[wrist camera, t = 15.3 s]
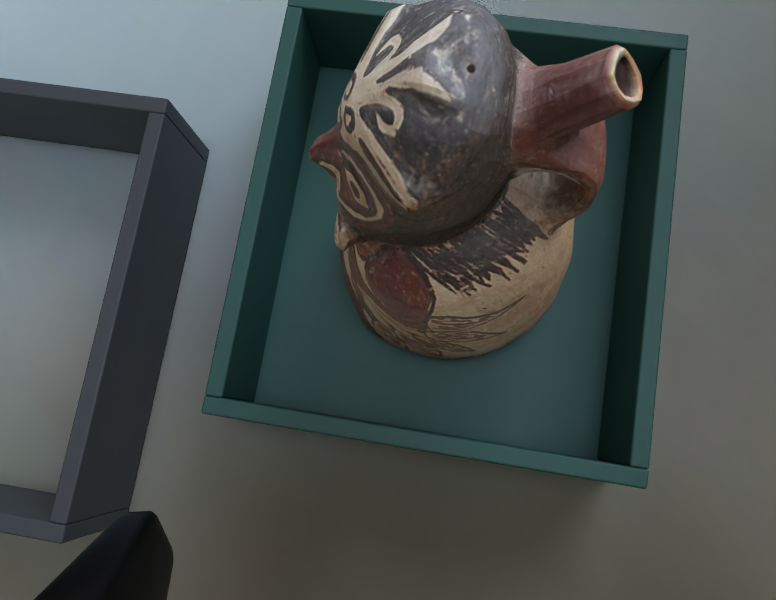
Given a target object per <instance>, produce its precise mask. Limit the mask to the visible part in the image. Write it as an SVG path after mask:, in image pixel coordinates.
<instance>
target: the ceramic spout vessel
mask: <svg viewBox="0 0 776 600" xmlns="http://www.w3.org/2000/svg"><path fill="white" fill-rule="evenodd" d="M642 93H643V87H642V78H641V74H640V72H639V70H638V68H637V66H636V64H635V62H634V60H633V58H632V57H631V55H630V54H629V52H628V51H627V50H626V49H625V48H623V47H621V46H619V45H614V46H611V47H608V48H605V49H603V50H600V51H597V52H594V53H591V54H589V55H586V56H583V57H580V58H577V59H574V60H572V61H569V62H566V63H561V64H553V65H545V66H537V65H535V64H533V63H532V62H531V61H530V60H529V59H528V58H527V57H525V56H524V55H523V54H522V53H521V52H520V51H519V50H517V49H516V48H515V47H514V46H513V45H512V44H511V41H510V39H509V36H508V33H507V32H506V31H505V29H504V28H503V26H502V25H501V23H500V22H499V21H498V20H497V19H496V18H495V17H494V16H493V15H492V14H491V13H490V12H489V10H488V9H487V8H486V7H485V6H483V5H480V4H478V3H476V2H473V1H471V0H434V1H430V2H426V3H423V4H420V5H410V4H403V5H401V6H399V7H397V8H395V9H392V10H390V11H388V12H387V13H386V15H385V17H384V18H383V20H382V21H381V23H380V25H379V26H378V28H377V30H376V31H375V33H374V35H373V37H372V39H371V41H370V42H369V44H368V46H367V48H366V50H365V52H364V54H363V56H362V58H361V60H360V61H359V63H358V65H357V67H356V69H355V71H354V73H353V75H352V77H351V79H350V81H349V83H348V85H347V87H346V90H345V92H344V95H343V97H342V99H341V102H340V105H339V107H338V111H337V124H336V125H335V126H334V127H333V128H331V129H330V130H329V131H328V132H326V133H324V134H322V135H321V136H319V137H317V138H316V140H315V141H314V143H313V145H312V146H311V148H310V149H309V157H310V160H311V161H313V162H314V163H316V164H318V165H320V166H322V167H323V168H324V169H325V170H326V171H327V172H328V174H329V175H330V176H331V178H332V179H333V180H334V181H335V185H336V191H337V200H338V211H337V217H336V223H335V233H334V236H335V243H336V246H337V247H338V248H339V252H340V258H341V263H342V269H343V277H344V279H345V282H346V284H347V287H348V290H349V293H350V296H351V299H352V301H353V303H354V306H355V308H356V310H357V312H358V314H359V316H360V318H361V320H362V322H363V324H364V326H365V327H367V328H368V329H369V330H370V331H372V332H373V333H374V334H375V335H377V336H378V337H380V338H381V339H383V340H384V341H385V342H387V343H389V344H391V345H393V346H395V347H398V348H400V349H403V350H406V351H409V352H412V353H415V354H418V355H422V356H426V357H430V358H437V359H458V358H465V357H478V356H480V355H483V354H486V353H489V352H492V351H494V350H497V349H500V348H502V347H503V346H505V345H507V344H508V343H510V342H511V341H513V340H515V339H516V338H518V337H520V336H521V335H523V334H525V333H526V332H528V331H529V330H530V329H531V328H532V327H533V326H534V325H535V324H536V322H537V321H538V320H539V319H540V318H541V317H542V316H543V315H544V313H545V312H546V311H547V310H548V309H549V308H550V307H551V305H552V303H553V301H554V299H555V297H556V294H557V292H558V290H559V287H560V285H561V283H562V280H563V278H564V276H565V273H566V271H567V269H568V266H569V263H570V260H571V256H572V250H573V234H574V218H575V217H577V216H578V215H580V214H582V213H584V212H586V211H587V210H588V209H589V207H590V205H591V204H592V202H593V200H594V199H595V197H596V195H597V193H598V191H599V189H600V187H601V185H602V183H603V181H604V174H605V163H606V140H607V136H606V126H605V119H608V118H610V117H612V116H615V115H617V114H620V113H622V112H625V111H627V110H629V109H632V108H634V107H637V105H638V104H639V103H640V101H641V100H642Z"/></svg>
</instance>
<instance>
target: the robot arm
mask: <svg viewBox="0 0 776 600" xmlns="http://www.w3.org/2000/svg"><path fill="white" fill-rule="evenodd" d="M172 567H173V551H172V547H171V545H170V543H169V540H168V538H167V536H166V534H165V532H164V530H163V528H162V525H161V523H160V521H159V519H158V517H157V515H156V514H154V513H153V512H151V511H140V512H127V513H124V514H122V515H121V516H119V517H118V518H117V519H116V520H115V521H114V522H113V523H112V524H111V525H110V526H109V527H108V528H107V529H106V530H105V531H104V532H103V533H102V534H101V535H99V536H98V537H97V538H96V539H95V540H94V541H93V542H92V543H91V544H90V545H89V546H88V547H87V548H86V549H85V550H84V551H83V552H82V553H81V554H80V555H79V556H78V557H77V558H76V559H75V560H74V561H73V562H72V563H71V564H70V565H69V566H68V567H67V568H66V569H65V570H64V571H63V572H62V573H61V574H60V575H59V576H58V577H57V578H56V579H54V580H53V581H52V582H51V583H50V584H49V585H48V586H47V587H46V588H45V589H44V590H43V591H42V592H41V593H40V594H39V595H38V596H37V597H36V598H35V599H34V600H167V594H168V589H169V584H170V578H171V573H172Z"/></svg>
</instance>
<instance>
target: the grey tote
mask: <svg viewBox="0 0 776 600" xmlns="http://www.w3.org/2000/svg"><path fill="white" fill-rule="evenodd" d="M0 135H7V136H14V137H21V138H29V139H36V140H44V141H51V142H59V143H66V144H73V145H81V146H88V147H96V148H103V149H111V150H118V151H125V152H133V153H139V157H138V161H137V165H136V169H135V174H134V178H133V182H132V186H131V190H130V194H129V198H128V202H127V206H126V210H125V214H124V219H123V223H122V227H121V231H120V235H119V239H118V243H117V247H116V251H115V255H114V259H113V263H112V268H111V272H110V276H109V280H108V284H107V288H106V292H105V296H104V300H103V304H102V308H101V313H100V317H99V321H98V325H97V329H96V333H95V337H94V341H93V345H92V349H91V353H90V358H89V362H88V366H87V370H86V374H85V378H84V382H83V386H82V390H81V394H80V398H79V403H78V407H77V411H76V415H75V419H74V423H73V427H72V431H71V435H70V439H69V443H68V448H67V452H66V456H65V460H64V464H63V468H62V472H61V476H60V480H59V484H58V488H57V493H56V494H53V493H47V492H42V491H37V490H31V489H26V488H20V487H15V486H10V485H4V484H0V532H2V533H8V534H13V535H18V536H23V537H28V538H33V539H39V540H44V541H49V542H54V543H59V544H61V543H65V542H68V541H71V540H74V539H77V538H80V537H83V536H86V535H89V534H92V533H95V532H98V531H101V530H104V529H107V528H108V527H109V526H110V525H111V524H112V523H113V522H114V521H115V520H116V519H117V518H118V517H119V516H121V515H122V514H124V513H127V512H128V508H127V507H129V505H130V500H131V496H132V491H133V487H134V482H135V478H136V474H137V469H138V465H139V460H140V456H141V451H142V447H143V442H144V438H145V434H146V429H147V425H148V420H149V416H150V411H151V407H152V402H153V398H154V394H155V389H156V385H157V380H158V376H159V371H160V367H161V362H162V358H163V353H164V349H165V345H166V340H167V336H168V331H169V327H170V322H171V318H172V313H173V309H174V305H175V300H176V296H177V291H178V287H179V282H180V278H181V273H182V269H183V265H184V260H185V256H186V251H187V247H188V242H189V238H190V233H191V229H192V225H193V220H194V216H195V211H196V207H197V202H198V198H199V193H200V189H201V184H202V180H203V176H204V171H205V167H206V161H207V157H208V153H209V150H208V148H207V147H206V146H205V145H204V143H203V142H202V141H201V140H200V138H199V137H198V136H197V135H196V133H195V132H194V131H193V130H192V128H191V127H190V126H189V125H188V123H187V122H186V121H185V120H184V119H183V117H182V116H181V115H180V114H179V112H178V111H177V110H176V109H175V107H174V106H173V105H172V104H171V102H170V101H169V100H168V99H163V98H155V97H147V96H139V95H131V94H123V93H115V92H107V91H99V90H91V89H84V88H76V87H68V86H60V85H52V84H44V83H36V82H28V81H20V80H12V79H4V78H0Z"/></svg>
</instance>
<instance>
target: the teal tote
mask: <svg viewBox="0 0 776 600" xmlns="http://www.w3.org/2000/svg"><path fill="white" fill-rule="evenodd" d="M401 5H403V4H396V3H387V2H378V1H369V0H288V7H287V9H286V14H285V19H284V24H283V28H282V33H281V38H280V43H279V47H278V52H277V57H276V62H275V66H274V71H273V76H272V80H271V85H270V90H269V95H268V99H267V104H266V109H265V114H264V118H263V123H262V128H261V133H260V137H259V142H258V147H257V151H256V156H255V161H254V166H253V170H252V175H251V180H250V185H249V189H248V194H247V199H246V203H245V208H244V213H243V218H242V222H241V227H240V232H239V237H238V241H237V246H236V251H235V256H234V260H233V265H232V270H231V274H230V279H229V284H228V289H227V293H226V298H225V303H224V308H223V312H222V317H221V322H220V327H219V331H218V336H217V341H216V345H215V350H214V355H213V360H212V364H211V369H210V374H209V379H208V383H207V388H206V395H207V396H205V398H204V403H203V407H202V413H203V414H209V415H215V416H221V417H227V418H233V419H238V420H244V421H250V422H256V423H262V424H268V425H274V426H279V427H285V428H291V429H297V430H303V431H309V432H314V433H320V434H326V435H332V436H338V437H344V438H350V439H355V440H361V441H367V442H373V443H379V444H385V445H391V446H396V447H402V448H408V449H414V450H420V451H426V452H432V453H437V454H443V455H449V456H455V457H461V458H467V459H473V460H478V461H484V462H490V463H496V464H502V465H508V466H514V467H519V468H525V469H531V470H537V471H543V472H549V473H555V474H560V475H566V476H572V477H578V478H584V479H590V480H596V481H601V482H607V483H613V484H619V485H625V486H631V487H637V488H642V489H646V488H647V483H648V470H647V469H648V468H649V461H650V450H651V439H652V428H653V417H654V406H655V395H656V384H657V373H658V362H659V351H660V340H661V329H662V318H663V307H664V296H665V285H666V275H667V264H668V253H669V242H670V231H671V220H672V209H673V198H674V187H675V176H676V165H677V154H678V143H679V132H680V121H681V110H682V99H683V88H684V77H685V66H686V55H687V52H686V50H687V44H688V35H681V34H672V33H663V32H654V31H645V30H635V29H626V28H617V27H608V26H599V25H589V24H580V23H571V22H562V21H553V20H543V19H534V18H525V17H516V16H507V15H497V14H492V15H493V16H494V17H495V18H496V19H497V20H498V21H499V22H500V23H501V25H502V26H503V28H504V29H505V31H506V32H507V33H508V36H509V39H510V41H511V44H512V45H513V46H514V47H515V48H516V49H517V50H519V51H520V52H521V53H522V54H523V55H524V56H525V57H527V58H528V59H529V60H530V61H531V62H532V63H533V64H535V65H537V66H545V65H553V64H561V63H566V62H569V61H572V60H574V59H577V58H580V57H583V56H586V55H589V54H591V53H594V52H597V51H600V50H603V49H605V48H608V47H611V46H614V45H619V46H621V47H623V48H625V49H626V50H627V51H628V52H629V54H630V55H631V57H632V58H633V60H634V62H635V64H636V66H637V68H638V70H639V72H640V74H641V78H642V87H643V93H642V100H641V101H640V103H639V104H638V105H637V107H634V108H632V109H629V110H627V111H625V112H622V113H620V114H617V115H615V116H612V117H610V118H608V119H605V126H606V136H607V140H606V163H605V174H604V181H603V183H602V185H601V187H600V189H599V191H598V193H597V195H596V197H595V199H594V200H593V202H592V204H591V205H590V207H589V209H588V210H587V211H586V212H584V213H582V214H580V215H578V216H577V217H575V218H574V234H573V250H572V256H571V260H570V263H569V266H568V269H567V271H566V273H565V276H564V278H563V280H562V283H561V285H560V287H559V290H558V292H557V294H556V297H555V299H554V301H553V303H552V305H551V307H550V308H549V309H548V310H547V311H546V312H545V313H544V315H543V316H542V317H541V318H540V319H539V320H538V321H537V322H536V324H535V325H534V326H533V327H532V328H531V329H530V330H529V331H528V332H526V333H525V334H523V335H521V336H520V337H518V338H516V339H515V340H513V341H511V342H510V343H508V344H507V345H505V346H503V347H502V348H500V349H497V350H494V351H492V352H489V353H486V354H483V355H480V356H478V357H465V358H458V359H437V358H430V357H426V356H422V355H418V354H415V353H412V352H409V351H406V350H403V349H400V348H398V347H395V346H393V345H391V344H389V343H387V342H385V341H384V340H383V339H381V338H380V337H378V336H377V335H375V334H374V333H373V332H372V331H370V330H369V329H368V328H367V327H365V326H364V324H363V322H362V320H361V318H360V316H359V314H358V312H357V310H356V308H355V306H354V303H353V301H352V299H351V296H350V293H349V290H348V287H347V284H346V282H345V279H344V277H343V269H342V263H341V258H340V252H339V248H338V247H337V246H336V243H335V236H334V233H335V223H336V217H337V211H338V200H337V191H336V185H335V181H334V180H333V179H332V178H331V176H330V175H329V174H328V172H327V171H326V170H325V169H324V168H323V167H322V166H320V165H318V164H316V163H314V162H313V161H311V160H310V157H309V149H310V148H311V146H312V145H313V143H314V141H315V140H316V138H317V137H319V136H321V135H322V134H324V133H326V132H328V131H329V130H330V129H331V128H333V127H334V126H335V125H336V124H337V111H338V107H339V105H340V102H341V99H342V97H343V95H344V92H345V90H346V87H347V85H348V83H349V81H350V79H351V77H352V75H353V73H354V71H355V69H356V67H357V65H358V63H359V61H360V60H361V58H362V56H363V54H364V52H365V50H366V48H367V46H368V44H369V42H370V41H371V39H372V37H373V35H374V33H375V31H376V30H377V28H378V26H379V25H380V23H381V21H382V20H383V18H384V17H385V15H386V13H387V12H388V11H390V10H392V9H395V8H397V7H399V6H401Z"/></svg>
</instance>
